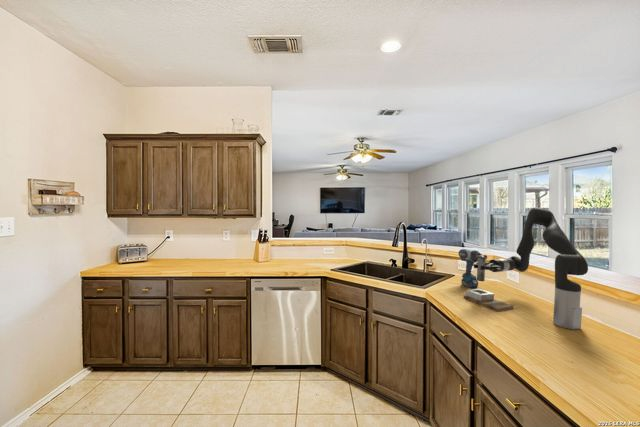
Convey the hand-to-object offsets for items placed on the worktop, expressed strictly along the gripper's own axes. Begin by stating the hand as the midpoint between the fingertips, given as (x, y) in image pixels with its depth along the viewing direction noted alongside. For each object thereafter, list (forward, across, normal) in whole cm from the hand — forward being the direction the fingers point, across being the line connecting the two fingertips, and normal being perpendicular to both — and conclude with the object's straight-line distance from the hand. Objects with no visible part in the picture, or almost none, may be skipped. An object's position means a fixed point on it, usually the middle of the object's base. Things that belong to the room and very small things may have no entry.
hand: (477, 267), depth 169 cm
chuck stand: (-3, +5, +20) cm, 20 cm away
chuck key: (-3, 0, +8) cm, 8 cm away
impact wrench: (-22, -23, +20) cm, 37 cm away
